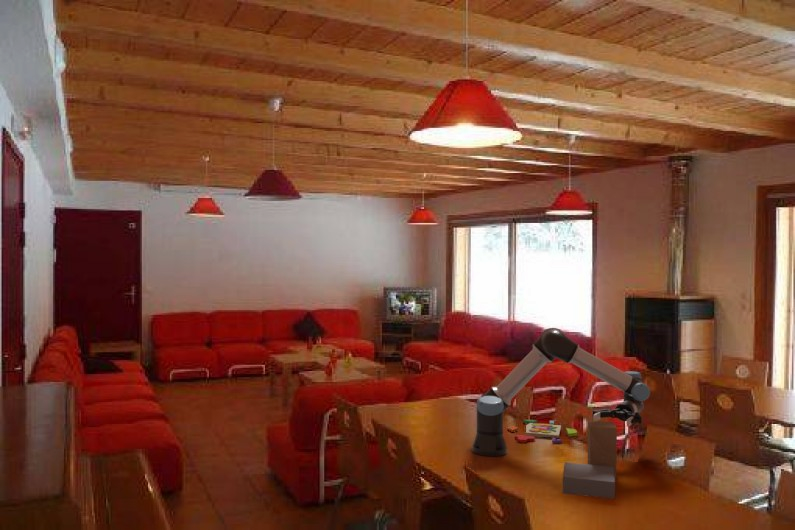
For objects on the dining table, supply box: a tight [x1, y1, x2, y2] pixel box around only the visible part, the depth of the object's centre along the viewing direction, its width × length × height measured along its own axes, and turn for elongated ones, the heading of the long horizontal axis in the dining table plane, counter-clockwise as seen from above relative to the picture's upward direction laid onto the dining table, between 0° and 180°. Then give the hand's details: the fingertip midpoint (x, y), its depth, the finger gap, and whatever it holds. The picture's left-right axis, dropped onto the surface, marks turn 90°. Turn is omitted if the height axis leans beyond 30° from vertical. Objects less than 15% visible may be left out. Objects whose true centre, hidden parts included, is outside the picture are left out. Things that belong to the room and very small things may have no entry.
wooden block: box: [587, 420, 618, 480], centre depth 255 cm, size 10×10×20 cm
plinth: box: [562, 461, 616, 499], centre depth 240 cm, size 18×18×6 cm
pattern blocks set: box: [506, 419, 578, 444], centre depth 317 cm, size 38×34×3 cm
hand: (610, 420), depth 263 cm, fingers open, 13 cm apart
